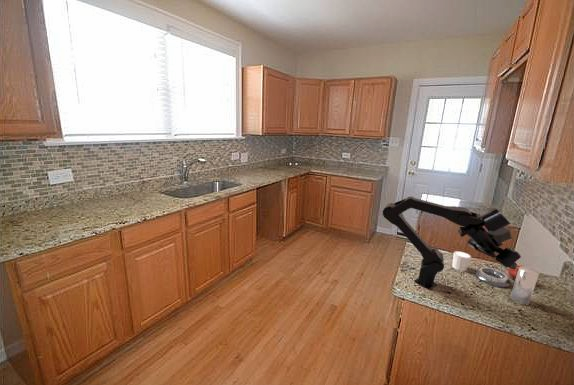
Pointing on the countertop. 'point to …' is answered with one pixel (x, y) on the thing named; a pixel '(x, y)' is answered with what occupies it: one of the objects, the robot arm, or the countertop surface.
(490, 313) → the countertop surface
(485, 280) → the collar
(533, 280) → the clear drinking glass
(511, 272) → the pomegranate
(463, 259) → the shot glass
